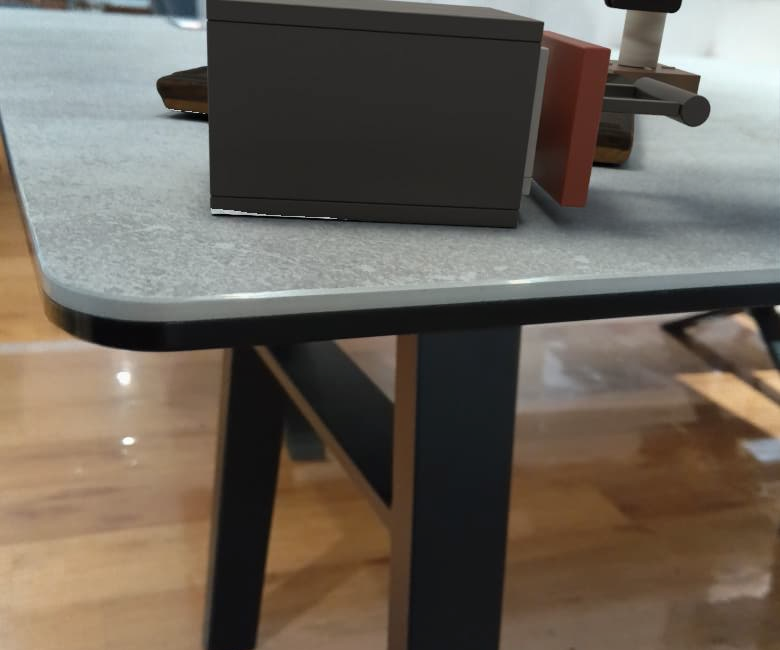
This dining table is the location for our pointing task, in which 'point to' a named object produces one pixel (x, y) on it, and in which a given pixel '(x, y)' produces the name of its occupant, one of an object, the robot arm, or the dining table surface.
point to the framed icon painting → (611, 142)
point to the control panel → (659, 75)
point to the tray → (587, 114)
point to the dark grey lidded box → (370, 109)
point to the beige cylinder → (642, 38)
